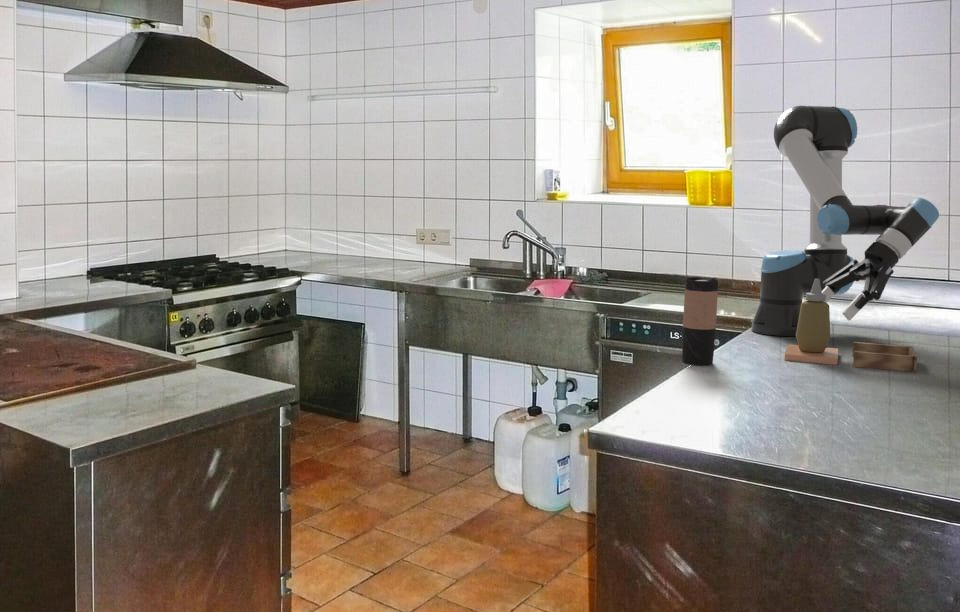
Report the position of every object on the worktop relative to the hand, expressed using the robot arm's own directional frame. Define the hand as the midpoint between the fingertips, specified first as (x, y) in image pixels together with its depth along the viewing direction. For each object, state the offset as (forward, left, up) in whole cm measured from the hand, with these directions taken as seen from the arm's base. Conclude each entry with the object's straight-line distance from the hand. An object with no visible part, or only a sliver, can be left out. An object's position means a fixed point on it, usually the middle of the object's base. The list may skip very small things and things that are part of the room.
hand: (828, 312), depth 222 cm
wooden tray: (+13, -2, -11) cm, 17 cm away
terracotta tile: (-3, -2, -11) cm, 12 cm away
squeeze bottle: (-3, -1, -10) cm, 10 cm away
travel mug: (-28, -22, -11) cm, 37 cm away
